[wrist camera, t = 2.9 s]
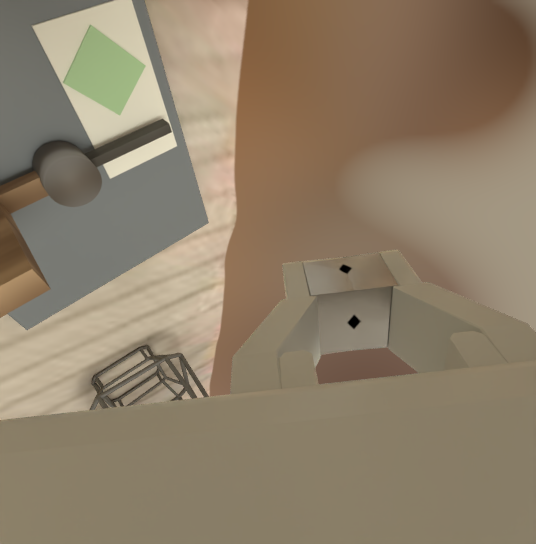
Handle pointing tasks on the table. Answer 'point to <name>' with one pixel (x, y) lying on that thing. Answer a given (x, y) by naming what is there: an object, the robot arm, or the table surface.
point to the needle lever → (63, 190)
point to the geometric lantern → (157, 360)
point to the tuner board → (91, 141)
